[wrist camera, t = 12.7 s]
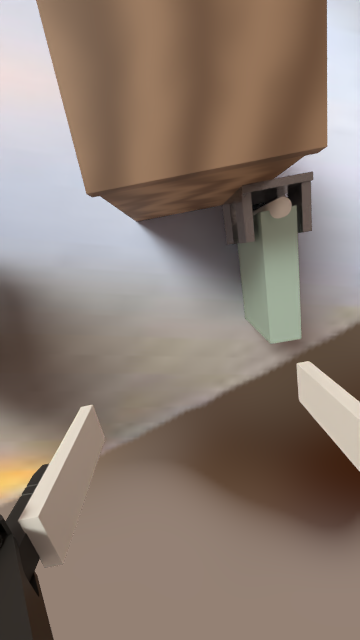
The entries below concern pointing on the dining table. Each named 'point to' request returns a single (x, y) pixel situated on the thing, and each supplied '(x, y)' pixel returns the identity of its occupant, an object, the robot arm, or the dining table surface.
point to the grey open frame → (241, 202)
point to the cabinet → (188, 95)
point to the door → (272, 272)
